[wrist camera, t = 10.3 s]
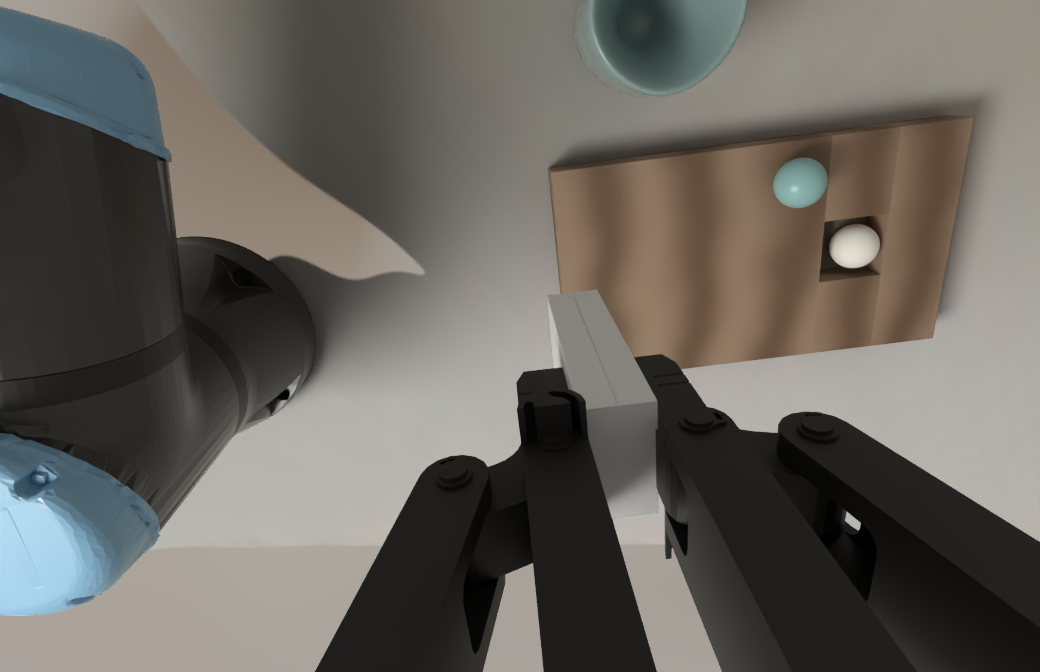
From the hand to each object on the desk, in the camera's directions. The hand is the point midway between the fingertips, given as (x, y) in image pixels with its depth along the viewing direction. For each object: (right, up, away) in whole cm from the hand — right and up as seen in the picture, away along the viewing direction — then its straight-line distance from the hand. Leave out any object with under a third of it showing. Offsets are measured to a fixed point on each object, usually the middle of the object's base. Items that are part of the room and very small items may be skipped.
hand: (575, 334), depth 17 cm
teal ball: (+17, +10, +20) cm, 28 cm away
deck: (+15, +6, +26) cm, 30 cm away
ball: (+23, +7, +24) cm, 34 cm away
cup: (+5, +20, +20) cm, 29 cm away
